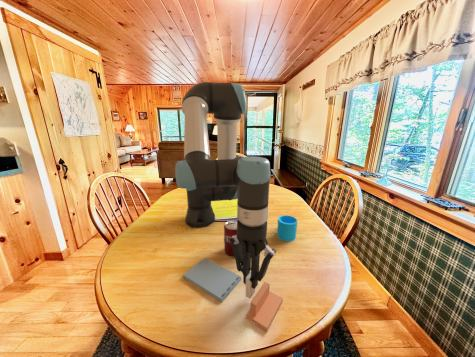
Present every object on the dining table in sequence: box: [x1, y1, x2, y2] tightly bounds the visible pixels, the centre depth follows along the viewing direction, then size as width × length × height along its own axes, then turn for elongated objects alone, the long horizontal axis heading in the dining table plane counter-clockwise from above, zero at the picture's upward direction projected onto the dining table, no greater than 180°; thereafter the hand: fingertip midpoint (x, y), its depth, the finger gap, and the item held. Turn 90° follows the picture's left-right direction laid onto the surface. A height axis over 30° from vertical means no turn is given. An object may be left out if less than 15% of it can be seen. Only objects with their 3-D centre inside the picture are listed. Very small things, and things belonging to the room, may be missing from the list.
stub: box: [245, 281, 284, 332], centre depth 52 cm, size 6×10×5 cm, turn 146°
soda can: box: [223, 220, 242, 258], centre depth 74 cm, size 7×7×12 cm
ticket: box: [182, 257, 242, 303], centre depth 63 cm, size 16×10×2 cm, turn 56°
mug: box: [276, 214, 298, 242], centre depth 87 cm, size 12×8×8 cm
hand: (250, 294), depth 55 cm, fingers closed
